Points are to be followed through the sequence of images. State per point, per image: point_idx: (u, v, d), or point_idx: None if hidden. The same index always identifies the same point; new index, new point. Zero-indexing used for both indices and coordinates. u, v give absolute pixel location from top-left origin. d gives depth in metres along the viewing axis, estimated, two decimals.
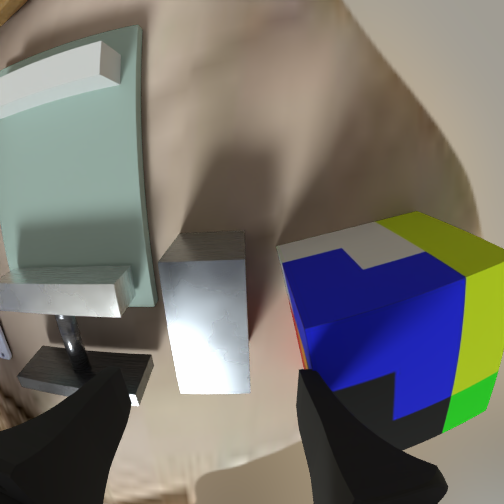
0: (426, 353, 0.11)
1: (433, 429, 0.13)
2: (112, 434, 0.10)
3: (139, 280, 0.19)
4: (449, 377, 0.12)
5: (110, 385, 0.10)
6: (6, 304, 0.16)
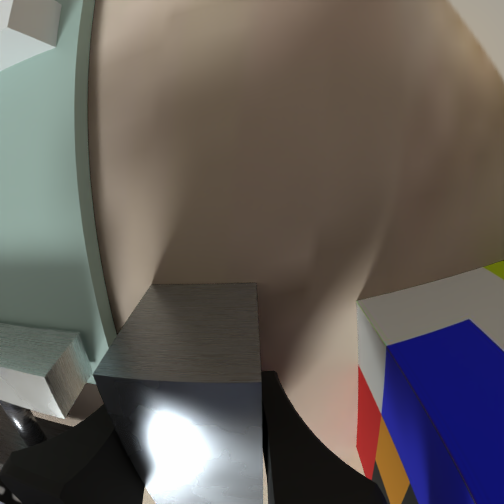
0: None
1: None
2: None
3: (95, 352, 0.11)
4: None
5: None
6: None
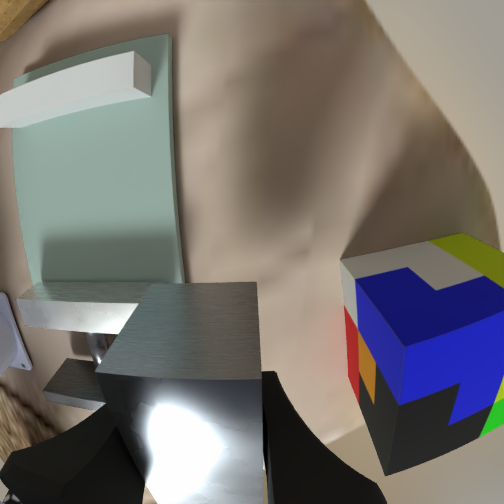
0: (485, 366, 0.11)
1: (474, 433, 0.13)
2: None
3: None
4: (496, 387, 0.12)
5: None
6: (31, 321, 0.16)
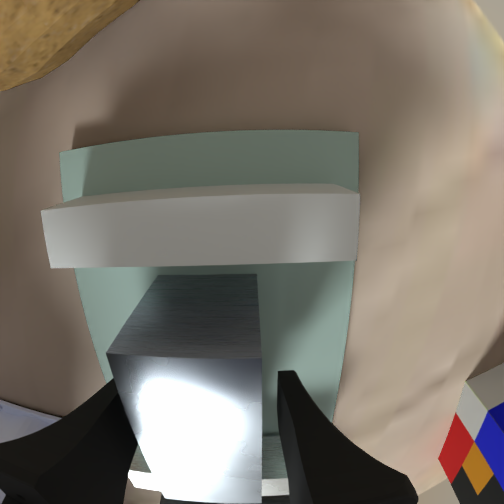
0: None
1: None
2: (130, 437, 0.10)
3: None
4: None
5: None
6: (148, 486, 0.13)
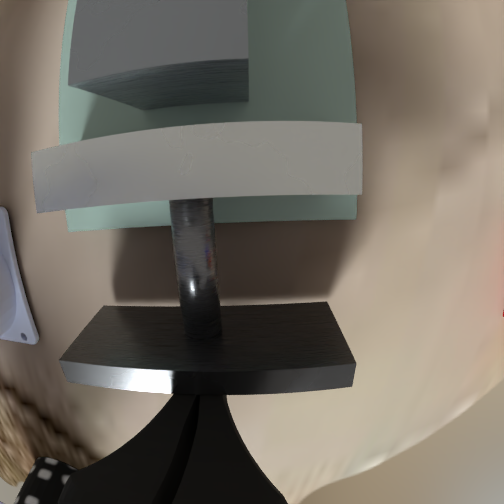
0: None
1: None
2: None
3: None
4: None
5: None
6: (56, 196, 0.08)
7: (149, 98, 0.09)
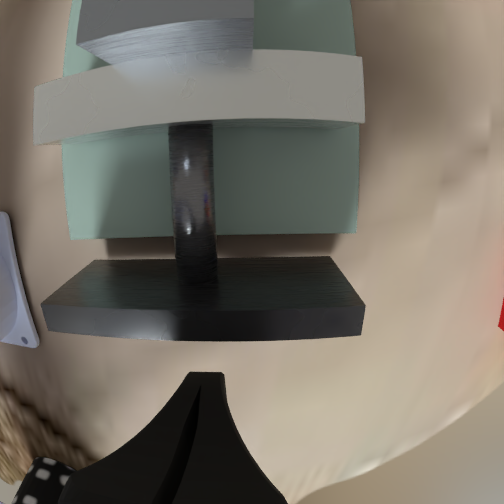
0: None
1: None
2: None
3: (340, 186, 0.12)
4: None
5: (201, 391, 0.10)
6: (55, 126, 0.08)
7: None
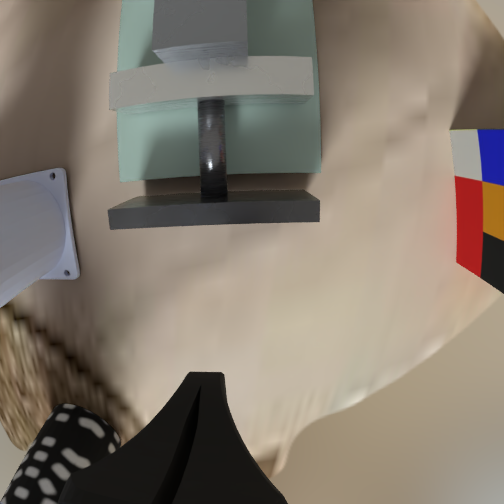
0: None
1: None
2: None
3: (308, 141, 0.17)
4: None
5: (201, 391, 0.10)
6: (126, 97, 0.13)
7: None
